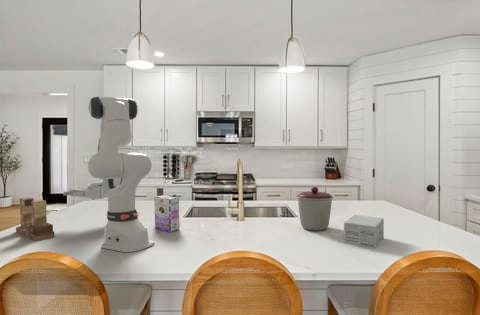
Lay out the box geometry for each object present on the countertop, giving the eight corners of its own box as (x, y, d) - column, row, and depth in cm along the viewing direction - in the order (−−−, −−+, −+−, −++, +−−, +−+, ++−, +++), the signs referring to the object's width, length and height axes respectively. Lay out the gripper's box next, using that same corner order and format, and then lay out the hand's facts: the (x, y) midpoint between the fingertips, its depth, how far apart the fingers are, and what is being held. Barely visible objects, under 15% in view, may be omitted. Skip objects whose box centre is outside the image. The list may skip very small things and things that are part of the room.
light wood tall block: (46, 230, 146) (46, 200, 145) (36, 232, 142) (35, 202, 141) (42, 228, 149) (41, 199, 148) (31, 230, 145) (30, 201, 145)
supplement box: (353, 234, 148) (354, 214, 148) (383, 238, 140) (384, 218, 140) (343, 243, 134) (343, 221, 134) (376, 248, 127) (376, 226, 126)
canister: (289, 228, 157) (289, 187, 157) (308, 222, 171) (308, 183, 170) (322, 235, 145) (322, 190, 144) (339, 227, 158) (339, 186, 158)
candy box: (179, 230, 155) (179, 197, 155) (169, 232, 151) (169, 199, 150) (164, 225, 165) (163, 194, 164) (154, 227, 160) (154, 196, 160)
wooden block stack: (54, 236, 145) (53, 201, 144) (34, 241, 138) (33, 204, 138) (34, 228, 159) (33, 196, 159) (16, 232, 153) (15, 198, 152)
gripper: (85, 184, 171) (59, 187, 161) (105, 186, 159) (77, 188, 148) (86, 196, 172) (59, 199, 161) (105, 198, 159) (78, 202, 148)
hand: (68, 194), depth 154 cm, fingers open, 8 cm apart
